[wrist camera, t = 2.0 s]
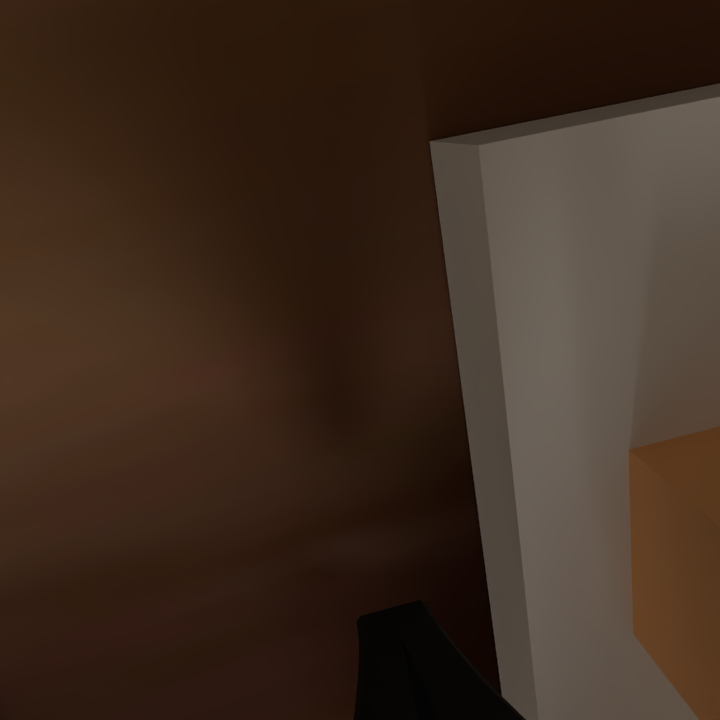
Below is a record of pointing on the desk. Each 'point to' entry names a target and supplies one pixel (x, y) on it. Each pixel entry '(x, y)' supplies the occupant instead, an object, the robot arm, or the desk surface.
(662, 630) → the orange block
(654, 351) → the box
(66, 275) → the desk surface
